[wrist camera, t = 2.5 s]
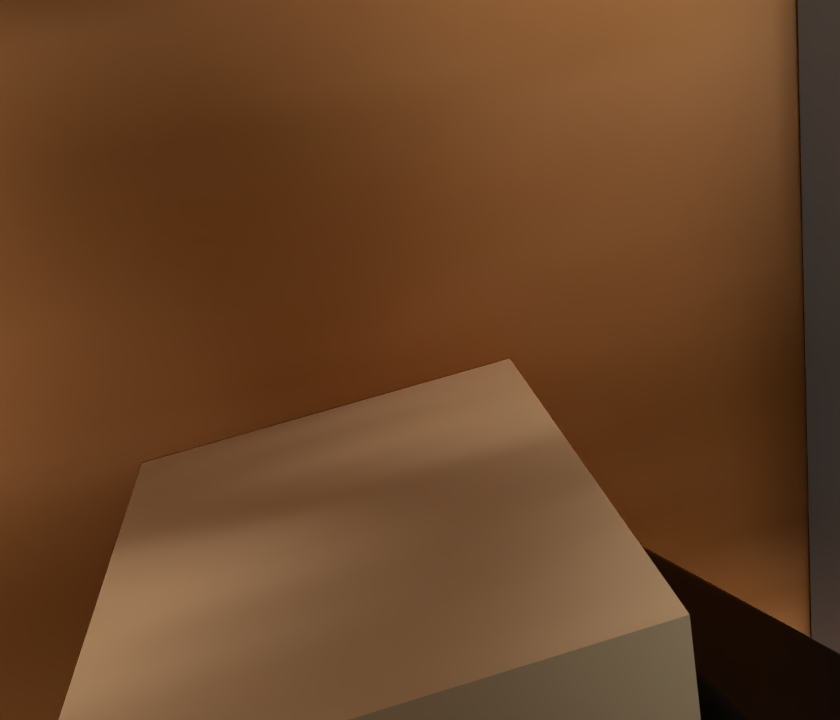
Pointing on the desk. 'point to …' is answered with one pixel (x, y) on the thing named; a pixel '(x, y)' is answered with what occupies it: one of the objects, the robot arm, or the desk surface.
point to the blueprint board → (822, 301)
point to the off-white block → (385, 575)
